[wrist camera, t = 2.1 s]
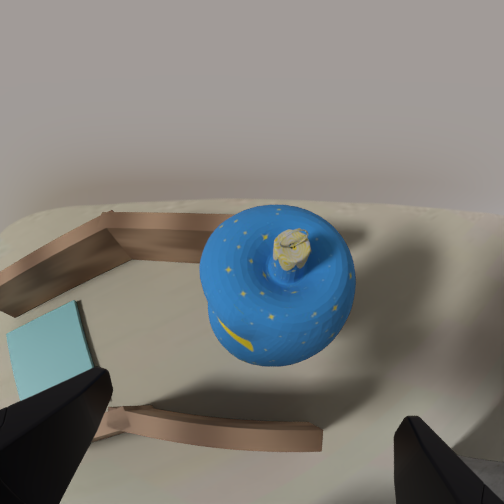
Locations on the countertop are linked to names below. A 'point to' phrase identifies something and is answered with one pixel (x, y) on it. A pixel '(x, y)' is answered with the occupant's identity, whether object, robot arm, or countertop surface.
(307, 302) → the ornament
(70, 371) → the pad
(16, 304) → the channel
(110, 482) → the countertop surface
